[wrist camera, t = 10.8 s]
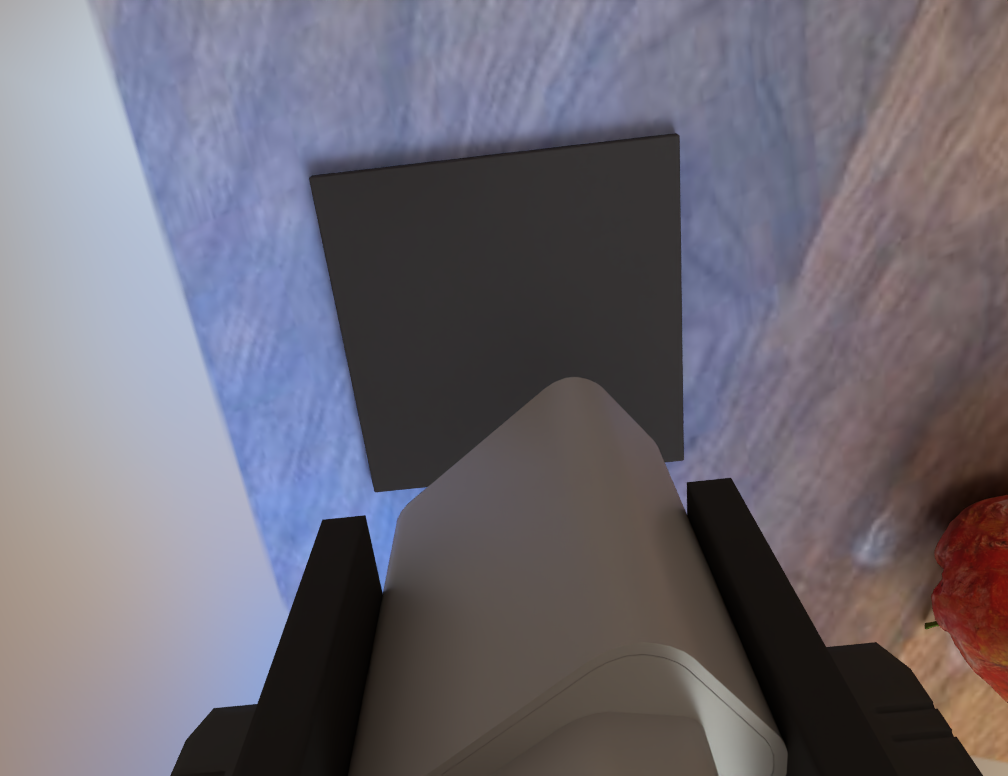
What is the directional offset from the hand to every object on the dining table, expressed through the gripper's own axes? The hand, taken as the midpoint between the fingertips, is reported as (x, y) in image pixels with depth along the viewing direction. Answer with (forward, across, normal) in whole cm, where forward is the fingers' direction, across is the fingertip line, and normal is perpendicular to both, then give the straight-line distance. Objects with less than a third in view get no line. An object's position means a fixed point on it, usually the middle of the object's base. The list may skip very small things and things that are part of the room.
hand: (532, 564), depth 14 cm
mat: (+13, 0, 0) cm, 13 cm away
